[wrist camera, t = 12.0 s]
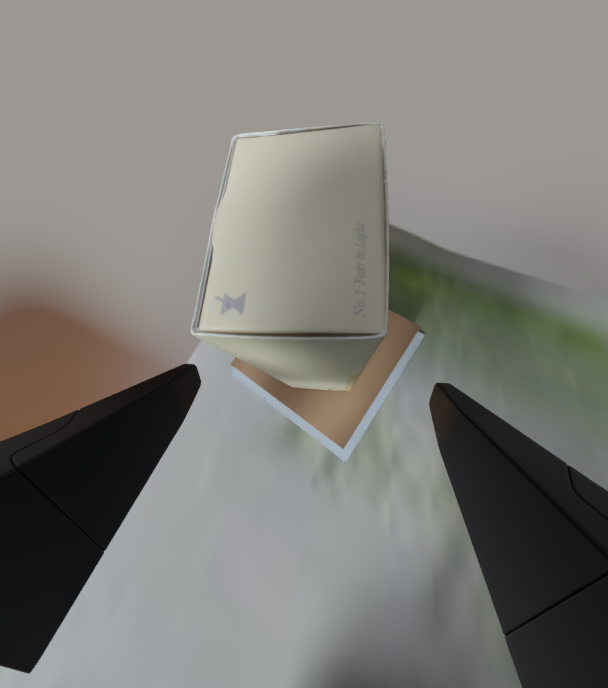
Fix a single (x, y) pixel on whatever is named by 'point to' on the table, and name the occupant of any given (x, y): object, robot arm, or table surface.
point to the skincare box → (300, 254)
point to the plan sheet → (364, 422)
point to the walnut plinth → (341, 406)
